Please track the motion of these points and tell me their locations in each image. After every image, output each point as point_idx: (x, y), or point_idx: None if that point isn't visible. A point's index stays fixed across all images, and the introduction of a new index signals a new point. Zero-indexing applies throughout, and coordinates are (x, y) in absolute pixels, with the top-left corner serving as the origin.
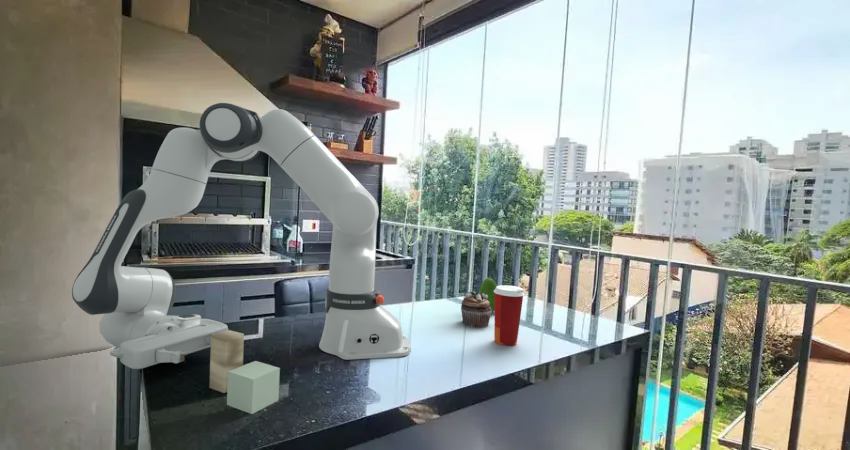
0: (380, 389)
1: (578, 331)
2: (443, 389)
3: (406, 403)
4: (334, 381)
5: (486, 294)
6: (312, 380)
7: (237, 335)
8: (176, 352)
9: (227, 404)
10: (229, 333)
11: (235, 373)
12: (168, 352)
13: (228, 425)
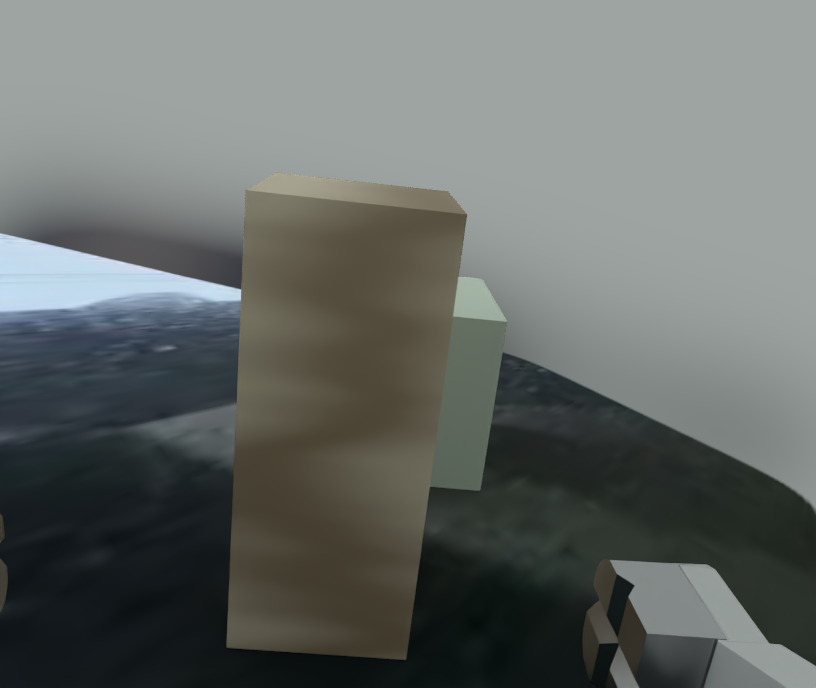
0: (91, 295)
1: None
2: (47, 249)
3: (168, 273)
4: (54, 352)
5: None
6: (64, 388)
7: (335, 179)
8: (696, 601)
9: (480, 485)
10: (329, 189)
11: (496, 307)
12: (812, 667)
13: (568, 429)
